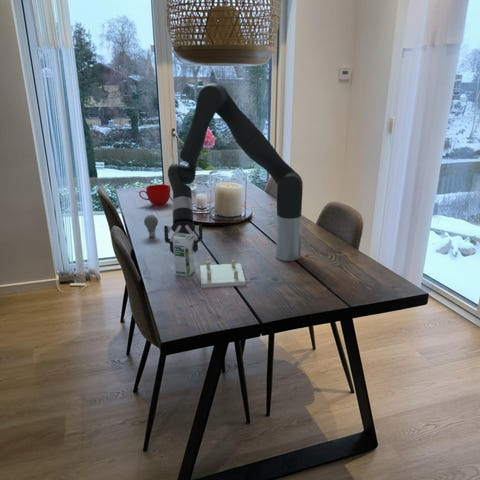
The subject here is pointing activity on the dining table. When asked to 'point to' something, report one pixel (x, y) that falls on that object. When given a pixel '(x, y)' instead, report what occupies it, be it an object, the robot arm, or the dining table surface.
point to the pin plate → (221, 275)
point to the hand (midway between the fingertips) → (184, 252)
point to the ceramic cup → (157, 194)
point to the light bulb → (151, 224)
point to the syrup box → (184, 254)
